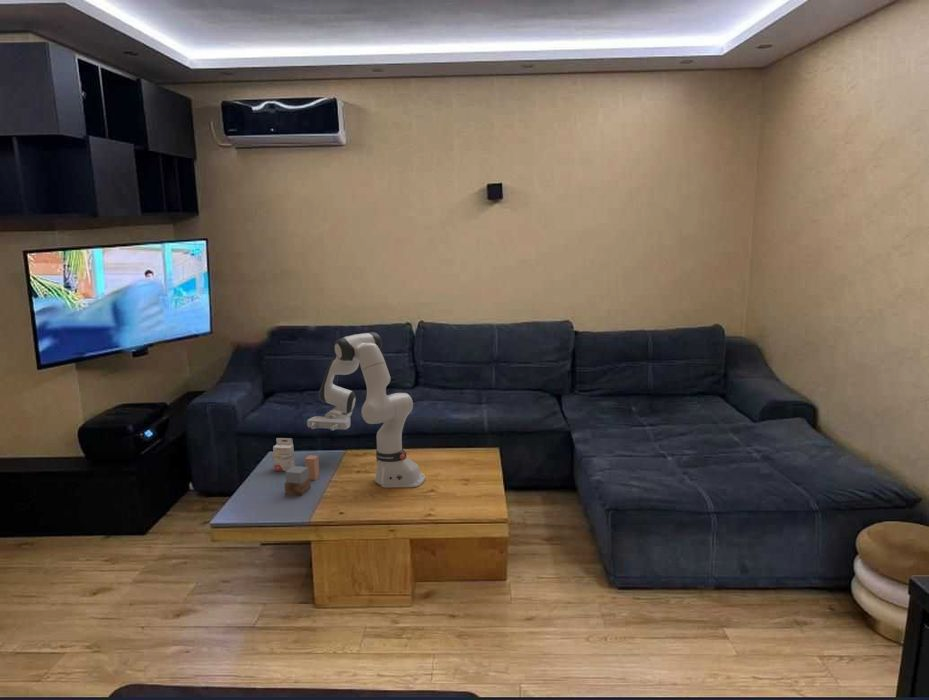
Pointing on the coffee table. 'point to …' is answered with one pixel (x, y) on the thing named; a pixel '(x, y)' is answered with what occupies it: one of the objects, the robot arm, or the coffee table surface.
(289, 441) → the ink cartridge box
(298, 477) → the tower top
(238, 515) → the coffee table surface
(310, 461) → the terracotta block
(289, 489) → the tower base
